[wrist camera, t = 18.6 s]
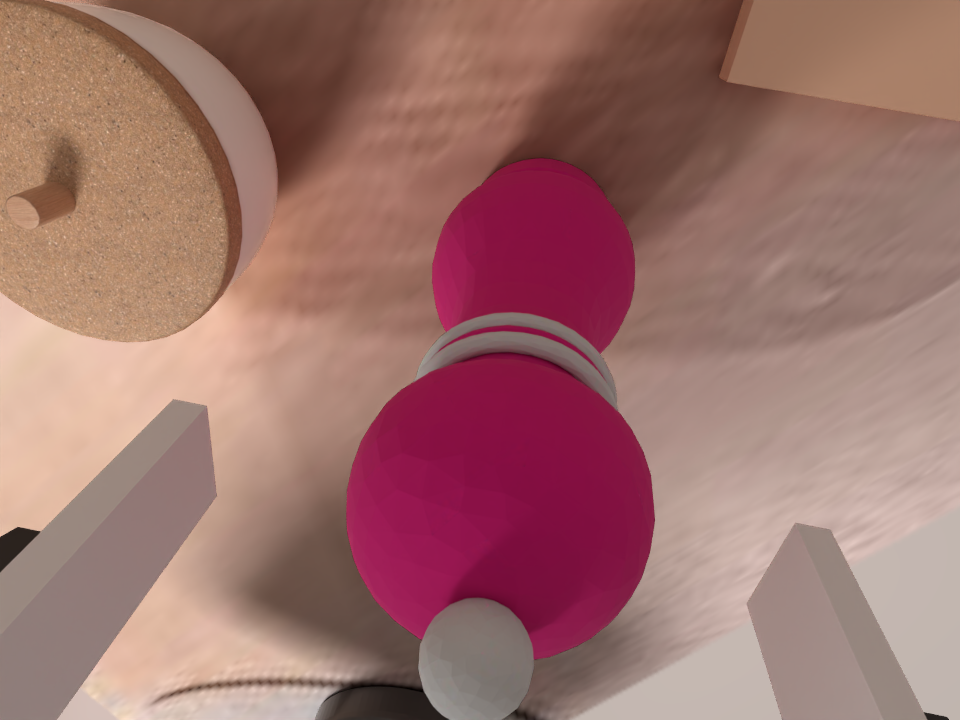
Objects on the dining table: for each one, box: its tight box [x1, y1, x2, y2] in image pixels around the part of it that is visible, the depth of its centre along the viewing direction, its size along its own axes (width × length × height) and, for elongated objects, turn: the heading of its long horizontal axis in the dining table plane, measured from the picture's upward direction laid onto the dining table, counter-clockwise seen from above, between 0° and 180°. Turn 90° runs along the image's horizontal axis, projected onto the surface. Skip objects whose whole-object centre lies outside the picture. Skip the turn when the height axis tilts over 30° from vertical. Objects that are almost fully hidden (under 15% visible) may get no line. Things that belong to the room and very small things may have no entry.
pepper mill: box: [346, 158, 655, 720], centre depth 17 cm, size 7×7×20 cm
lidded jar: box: [0, 0, 278, 342], centre depth 21 cm, size 11×11×9 cm
